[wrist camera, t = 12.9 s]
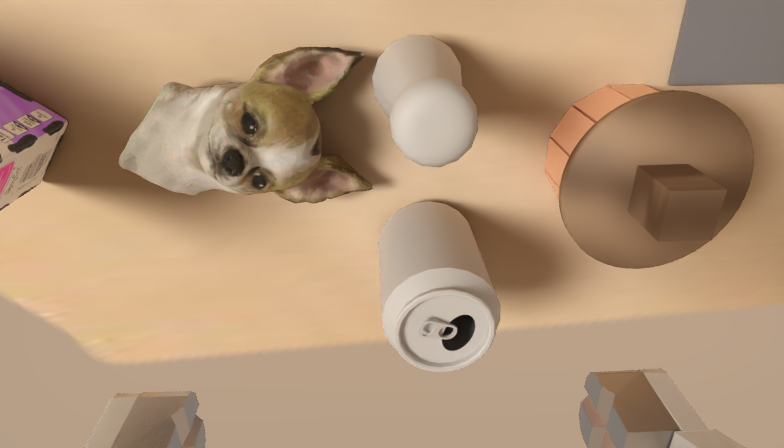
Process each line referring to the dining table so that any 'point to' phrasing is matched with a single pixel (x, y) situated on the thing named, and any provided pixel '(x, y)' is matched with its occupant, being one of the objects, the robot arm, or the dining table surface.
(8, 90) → the candy box
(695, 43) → the mat
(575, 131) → the bowl
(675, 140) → the lid
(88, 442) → the robot arm
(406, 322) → the can
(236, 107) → the ceramic sculpture
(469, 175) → the dining table surface
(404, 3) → the dining table surface
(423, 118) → the salt shaker
